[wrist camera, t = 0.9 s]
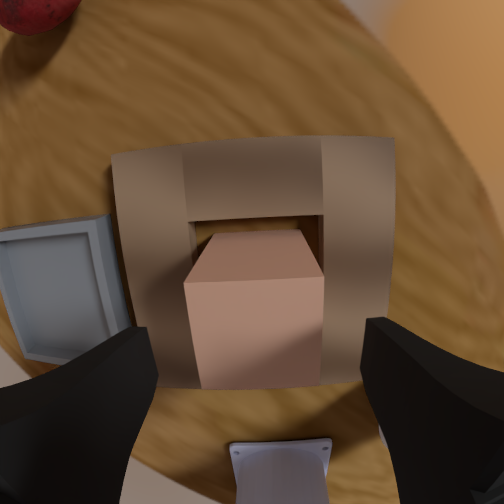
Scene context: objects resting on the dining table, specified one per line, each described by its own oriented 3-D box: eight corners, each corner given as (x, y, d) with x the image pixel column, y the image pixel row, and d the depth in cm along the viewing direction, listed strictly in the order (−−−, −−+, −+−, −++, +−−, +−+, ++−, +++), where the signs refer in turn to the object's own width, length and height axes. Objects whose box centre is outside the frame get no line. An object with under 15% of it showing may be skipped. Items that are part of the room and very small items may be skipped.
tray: (139, 357, 19) (130, 373, 17) (36, 346, 20) (24, 358, 18) (110, 213, 17) (95, 219, 15) (3, 227, 17) (-13, 234, 15)
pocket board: (370, 364, 19) (376, 378, 17) (160, 372, 19) (154, 386, 18) (383, 139, 15) (394, 137, 13) (123, 154, 16) (110, 154, 14)
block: (300, 306, 18) (318, 385, 11) (222, 309, 18) (201, 389, 11) (299, 228, 17) (324, 276, 10) (214, 233, 17) (183, 283, 10)
